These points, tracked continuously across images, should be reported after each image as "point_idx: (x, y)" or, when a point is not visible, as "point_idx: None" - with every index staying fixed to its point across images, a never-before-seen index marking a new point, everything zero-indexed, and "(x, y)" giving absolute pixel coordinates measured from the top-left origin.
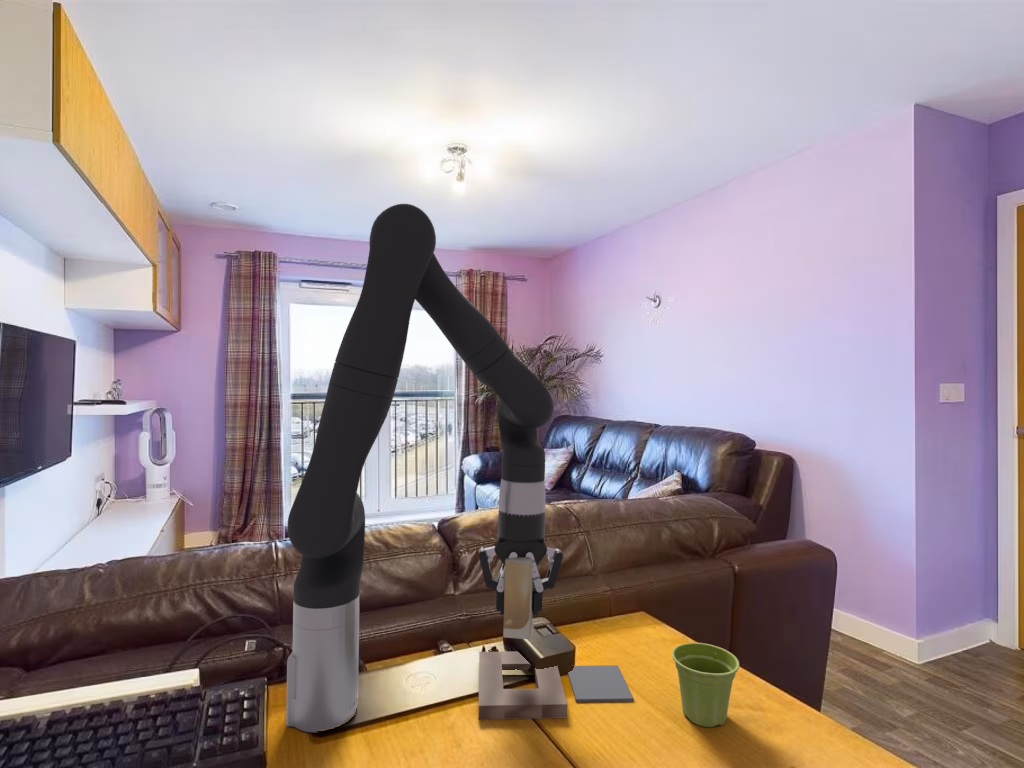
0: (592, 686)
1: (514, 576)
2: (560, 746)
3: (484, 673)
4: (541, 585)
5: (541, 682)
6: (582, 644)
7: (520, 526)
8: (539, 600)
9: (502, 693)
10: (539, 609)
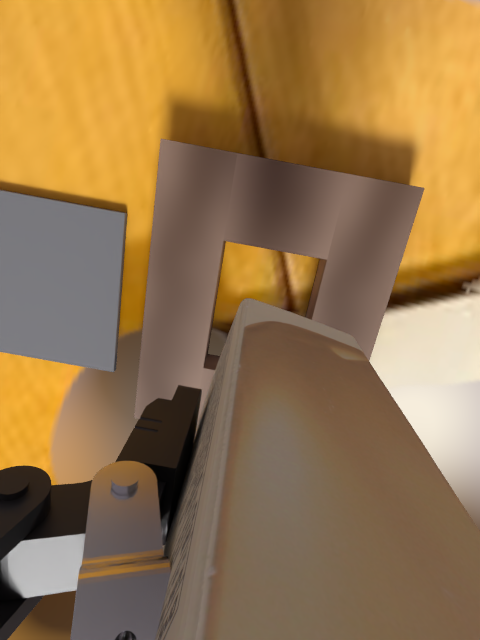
0: (65, 264)
1: (430, 589)
2: (223, 11)
3: None
4: (99, 501)
5: (208, 270)
6: (48, 462)
7: None
8: (149, 437)
9: (336, 237)
10: (162, 406)
